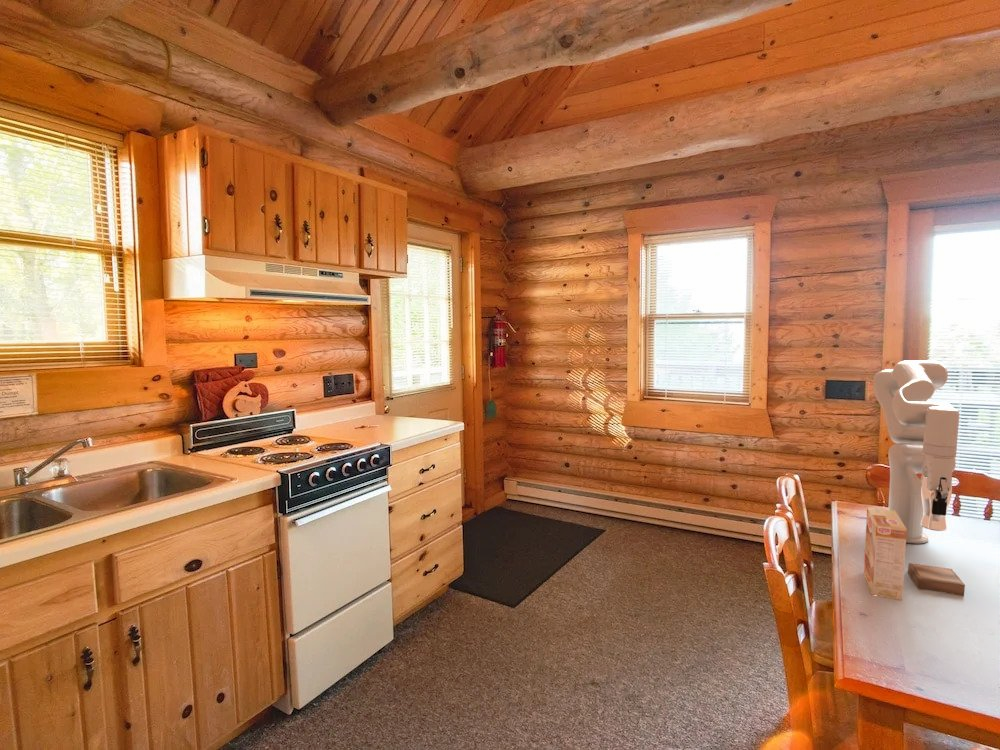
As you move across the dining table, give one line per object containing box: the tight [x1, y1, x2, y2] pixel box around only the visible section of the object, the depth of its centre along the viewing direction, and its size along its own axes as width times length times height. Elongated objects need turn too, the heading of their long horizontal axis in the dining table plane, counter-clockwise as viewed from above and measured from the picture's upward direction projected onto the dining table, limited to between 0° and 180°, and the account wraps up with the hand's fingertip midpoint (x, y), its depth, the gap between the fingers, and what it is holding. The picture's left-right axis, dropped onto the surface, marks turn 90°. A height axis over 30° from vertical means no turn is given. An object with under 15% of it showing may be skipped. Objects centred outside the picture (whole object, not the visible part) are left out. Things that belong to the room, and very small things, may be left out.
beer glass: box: [920, 475, 953, 532], centre depth 160 cm, size 7×7×15 cm
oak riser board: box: [907, 562, 966, 597], centre depth 153 cm, size 10×10×3 cm
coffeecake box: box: [863, 507, 907, 601], centre depth 151 cm, size 15×7×20 cm, turn 154°
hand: (934, 509), depth 161 cm, fingers closed on beer glass, 6 cm apart
